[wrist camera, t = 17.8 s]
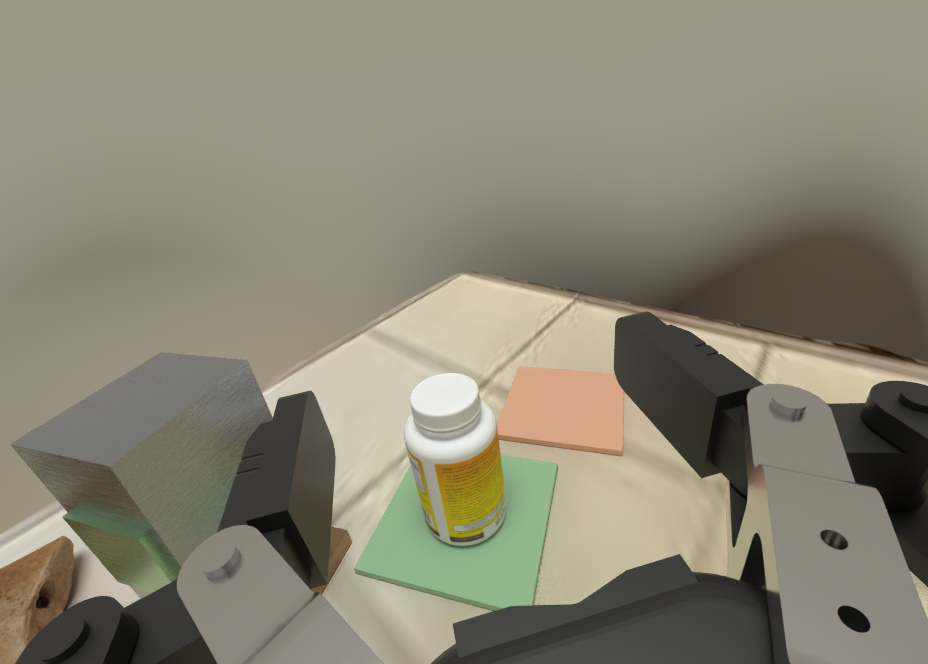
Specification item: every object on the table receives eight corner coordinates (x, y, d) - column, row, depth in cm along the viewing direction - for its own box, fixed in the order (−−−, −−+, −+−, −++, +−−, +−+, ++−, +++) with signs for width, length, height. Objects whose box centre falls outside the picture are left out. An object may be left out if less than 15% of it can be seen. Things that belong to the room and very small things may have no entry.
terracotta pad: (519, 370, 44) (518, 366, 44) (623, 378, 41) (623, 374, 41) (494, 438, 36) (493, 434, 36) (622, 455, 33) (622, 450, 33)
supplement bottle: (521, 497, 30) (510, 376, 25) (480, 565, 26) (458, 438, 21) (454, 470, 33) (433, 357, 28) (408, 528, 29) (374, 408, 24)
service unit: (258, 519, 32) (163, 341, 25) (352, 542, 29) (277, 350, 22) (147, 654, 25) (-35, 458, 17) (259, 700, 22) (100, 493, 15)
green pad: (423, 448, 36) (422, 443, 36) (557, 468, 33) (557, 463, 32) (355, 573, 27) (354, 568, 27) (530, 620, 24) (529, 615, 23)
